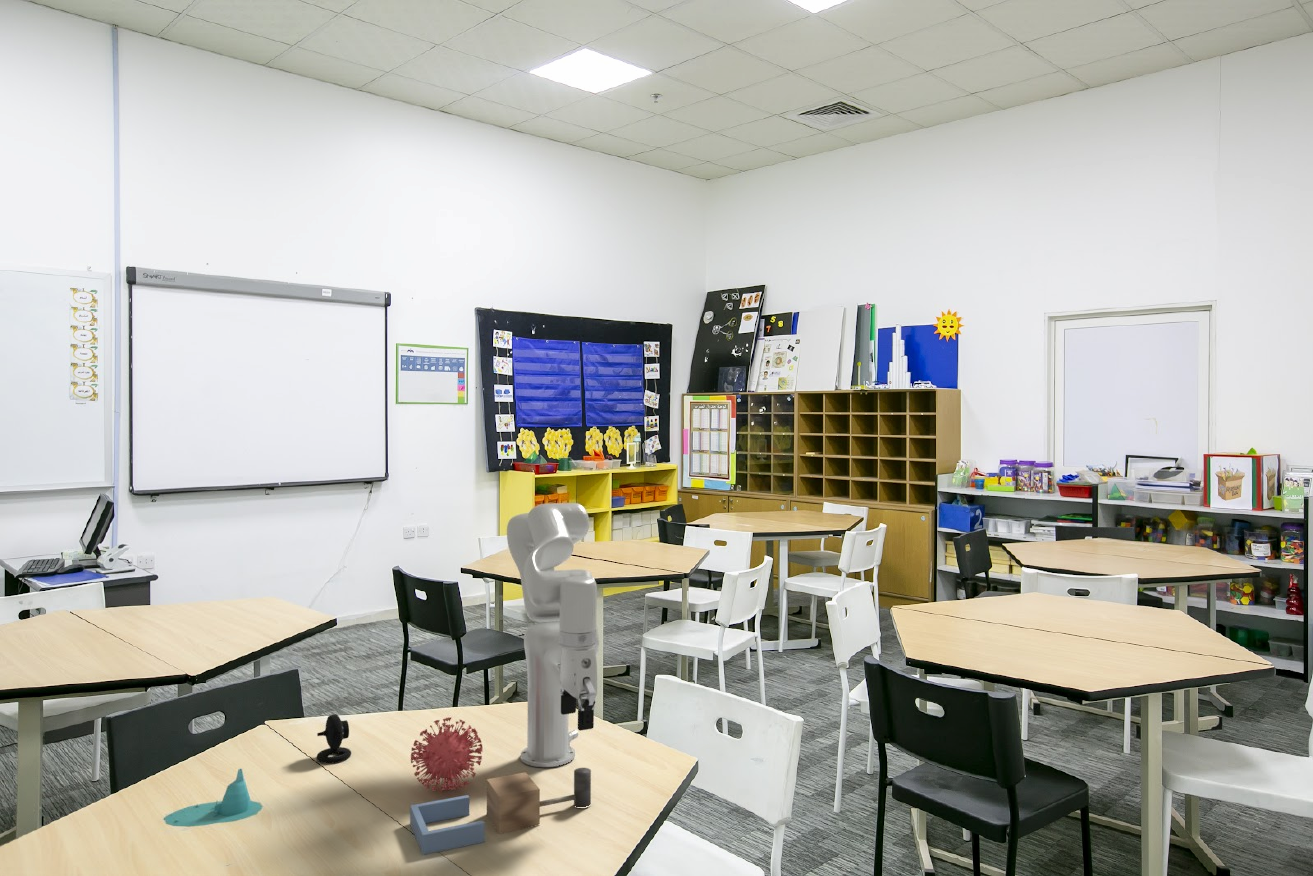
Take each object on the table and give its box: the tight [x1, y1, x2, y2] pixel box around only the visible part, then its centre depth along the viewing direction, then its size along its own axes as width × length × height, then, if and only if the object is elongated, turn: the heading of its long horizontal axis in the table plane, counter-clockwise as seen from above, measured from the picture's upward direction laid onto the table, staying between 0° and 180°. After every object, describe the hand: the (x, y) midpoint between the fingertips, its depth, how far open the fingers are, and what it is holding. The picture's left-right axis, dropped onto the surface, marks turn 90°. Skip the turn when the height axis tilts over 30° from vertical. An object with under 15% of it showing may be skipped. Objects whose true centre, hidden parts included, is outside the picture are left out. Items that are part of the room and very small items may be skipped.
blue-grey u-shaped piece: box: [409, 794, 486, 856], centre depth 159 cm, size 11×13×4 cm
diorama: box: [163, 768, 263, 828], centre depth 167 cm, size 12×20×9 cm, turn 105°
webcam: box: [316, 714, 352, 764], centre depth 195 cm, size 8×8×10 cm
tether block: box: [486, 767, 592, 835], centre depth 167 cm, size 20×9×7 cm, turn 116°
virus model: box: [410, 717, 483, 793], centre depth 178 cm, size 15×15×15 cm
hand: (576, 721), depth 172 cm, fingers open, 9 cm apart
